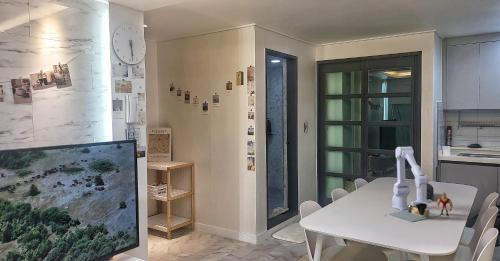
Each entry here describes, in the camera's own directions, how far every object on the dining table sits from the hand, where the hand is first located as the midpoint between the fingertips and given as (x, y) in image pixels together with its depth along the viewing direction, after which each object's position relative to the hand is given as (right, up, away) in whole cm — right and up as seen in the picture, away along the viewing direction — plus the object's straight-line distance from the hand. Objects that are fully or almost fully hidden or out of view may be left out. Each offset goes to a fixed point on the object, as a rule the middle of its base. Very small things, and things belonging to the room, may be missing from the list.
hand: (421, 215), depth 231 cm
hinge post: (-2, -1, +11) cm, 11 cm away
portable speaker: (+28, +1, +50) cm, 57 cm away
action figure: (+17, -1, +4) cm, 18 cm away
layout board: (-2, -1, +6) cm, 6 cm away
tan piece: (+1, -1, +4) cm, 4 cm away
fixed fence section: (+3, 0, +13) cm, 14 cm away
